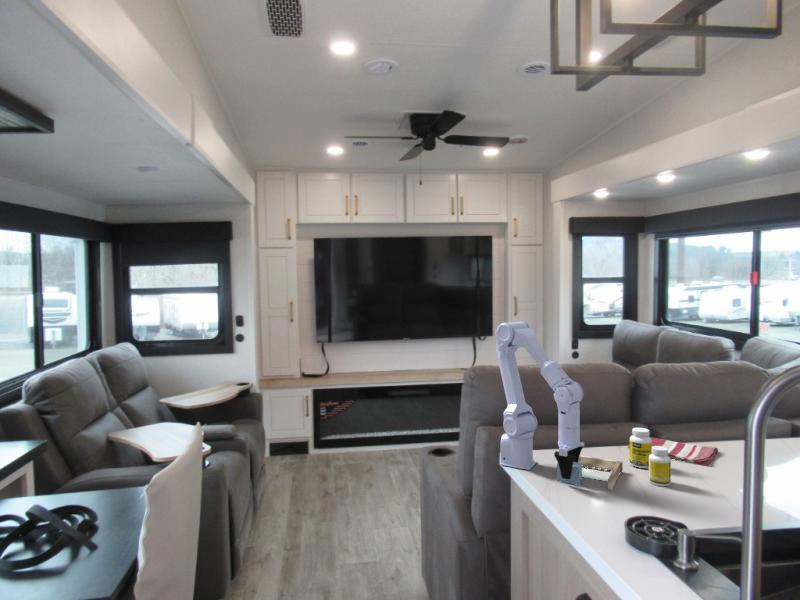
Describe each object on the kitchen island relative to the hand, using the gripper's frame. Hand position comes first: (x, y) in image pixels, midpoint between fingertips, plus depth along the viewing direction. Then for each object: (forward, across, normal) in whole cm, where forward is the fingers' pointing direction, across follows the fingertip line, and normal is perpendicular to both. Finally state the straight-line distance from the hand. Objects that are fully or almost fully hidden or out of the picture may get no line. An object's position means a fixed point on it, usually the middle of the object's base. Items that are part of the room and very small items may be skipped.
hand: (569, 473), depth 144 cm
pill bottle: (+2, +22, -16) cm, 27 cm away
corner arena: (+2, +6, -4) cm, 8 cm away
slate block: (+2, 0, 0) cm, 2 cm away
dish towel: (+3, +41, -23) cm, 47 cm away
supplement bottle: (+2, +10, -22) cm, 24 cm away
